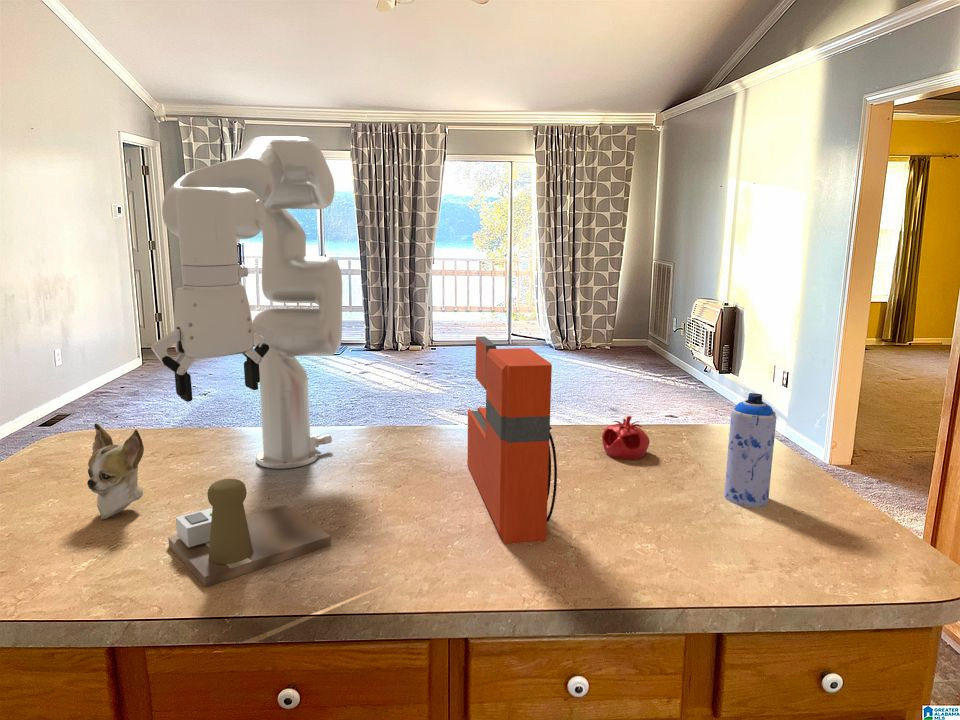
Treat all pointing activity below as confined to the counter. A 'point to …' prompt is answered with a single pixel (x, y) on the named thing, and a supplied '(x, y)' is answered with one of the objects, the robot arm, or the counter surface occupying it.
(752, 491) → the aerosol can
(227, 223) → the robot arm
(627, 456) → the pomegranate
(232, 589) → the counter surface
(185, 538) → the white box with button
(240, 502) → the olive pawn figure
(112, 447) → the ceramic sculpture
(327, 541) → the board
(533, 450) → the toy gas pump
